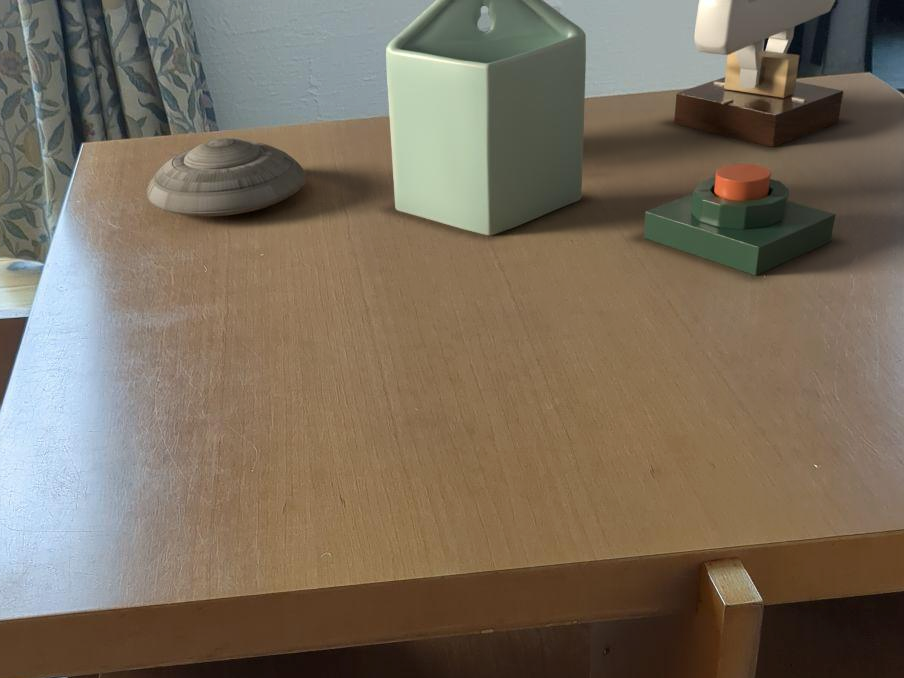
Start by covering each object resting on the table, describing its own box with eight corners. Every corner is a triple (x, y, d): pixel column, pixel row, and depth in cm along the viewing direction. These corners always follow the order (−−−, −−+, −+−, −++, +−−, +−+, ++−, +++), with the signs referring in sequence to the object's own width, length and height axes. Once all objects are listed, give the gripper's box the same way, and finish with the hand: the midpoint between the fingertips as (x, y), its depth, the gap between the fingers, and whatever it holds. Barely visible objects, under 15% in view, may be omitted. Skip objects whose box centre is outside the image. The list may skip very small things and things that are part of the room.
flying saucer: (141, 187, 113) (130, 131, 110) (291, 164, 115) (284, 107, 112) (157, 240, 101) (146, 177, 98) (324, 212, 103) (317, 150, 100)
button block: (831, 241, 89) (839, 190, 87) (755, 275, 85) (762, 223, 83) (717, 208, 97) (722, 160, 94) (643, 237, 93) (646, 188, 90)
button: (779, 194, 88) (782, 171, 87) (744, 207, 87) (747, 185, 86) (736, 182, 91) (739, 160, 90) (702, 195, 89) (704, 173, 88)
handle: (794, 93, 111) (800, 52, 109) (783, 98, 110) (789, 57, 108) (734, 84, 115) (738, 44, 113) (723, 89, 114) (727, 49, 112)
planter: (392, 241, 96) (375, -16, 85) (395, 207, 103) (380, -36, 91) (590, 230, 95) (600, -33, 83) (580, 197, 101) (588, -52, 90)
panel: (840, 121, 113) (846, 88, 111) (770, 148, 108) (774, 113, 106) (741, 100, 121) (744, 68, 119) (671, 124, 116) (674, 91, 114)
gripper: (749, -55, 96) (731, 114, 104) (865, -94, 107) (841, 61, 115) (684, -59, 100) (671, 104, 108) (802, -96, 111) (783, 54, 119)
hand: (760, 82), depth 112 cm, fingers closed on handle, 2 cm apart
